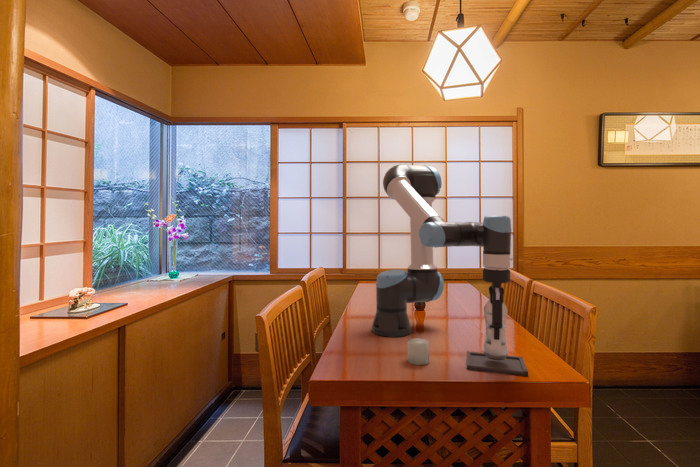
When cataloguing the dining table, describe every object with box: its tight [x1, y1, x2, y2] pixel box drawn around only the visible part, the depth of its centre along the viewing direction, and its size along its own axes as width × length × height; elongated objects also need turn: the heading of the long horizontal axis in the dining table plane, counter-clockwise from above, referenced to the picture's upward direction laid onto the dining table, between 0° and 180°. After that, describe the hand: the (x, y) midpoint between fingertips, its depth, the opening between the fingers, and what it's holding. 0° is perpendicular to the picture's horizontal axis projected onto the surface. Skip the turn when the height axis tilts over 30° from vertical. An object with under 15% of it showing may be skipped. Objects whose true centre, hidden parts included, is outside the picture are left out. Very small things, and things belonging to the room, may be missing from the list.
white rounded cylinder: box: [407, 337, 430, 366], centre depth 113 cm, size 6×6×6 cm
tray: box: [466, 351, 529, 377], centre depth 110 cm, size 16×12×1 cm
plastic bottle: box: [482, 294, 509, 360], centre depth 110 cm, size 6×7×20 cm
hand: (495, 346), depth 110 cm, fingers closed on plastic bottle, 6 cm apart
